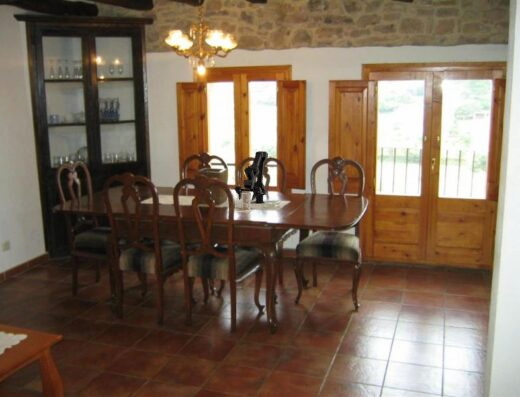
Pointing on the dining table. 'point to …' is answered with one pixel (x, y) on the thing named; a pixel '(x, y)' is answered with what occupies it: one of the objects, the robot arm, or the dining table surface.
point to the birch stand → (244, 205)
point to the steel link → (248, 199)
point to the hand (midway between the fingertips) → (245, 200)
